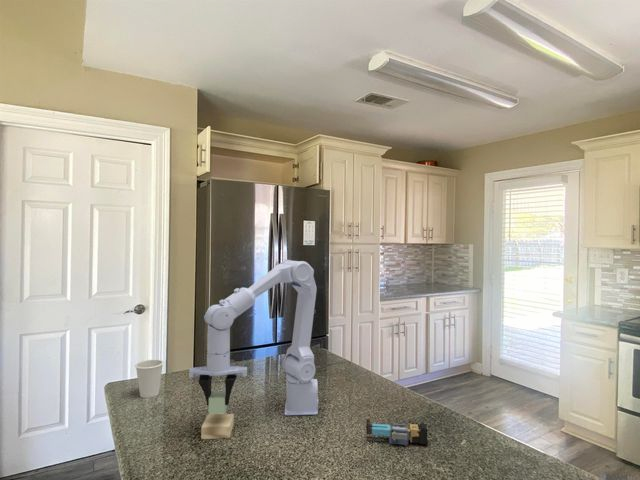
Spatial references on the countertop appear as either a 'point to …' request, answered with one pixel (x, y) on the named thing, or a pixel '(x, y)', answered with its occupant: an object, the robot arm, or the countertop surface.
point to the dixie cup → (149, 377)
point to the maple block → (217, 426)
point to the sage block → (217, 403)
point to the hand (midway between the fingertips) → (218, 403)
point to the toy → (399, 432)
